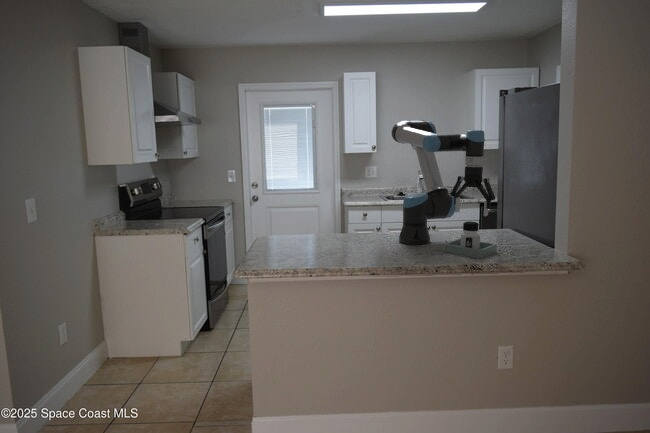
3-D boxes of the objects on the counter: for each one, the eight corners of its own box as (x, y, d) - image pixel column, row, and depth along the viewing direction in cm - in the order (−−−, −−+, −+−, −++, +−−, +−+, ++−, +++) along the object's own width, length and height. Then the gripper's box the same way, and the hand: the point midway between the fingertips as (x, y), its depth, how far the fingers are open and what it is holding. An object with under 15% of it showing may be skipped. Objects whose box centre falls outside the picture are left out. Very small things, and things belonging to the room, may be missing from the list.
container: (479, 252, 220) (480, 223, 218) (461, 252, 222) (462, 223, 219) (477, 248, 228) (479, 220, 225) (460, 247, 229) (461, 220, 227)
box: (443, 251, 225) (444, 244, 225) (459, 245, 236) (460, 238, 235) (481, 258, 213) (481, 250, 213) (496, 251, 224) (496, 244, 223)
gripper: (444, 164, 223) (442, 211, 227) (497, 168, 207) (494, 218, 211) (452, 163, 229) (450, 209, 233) (505, 167, 212) (502, 216, 216)
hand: (471, 213), depth 222 cm, fingers open, 13 cm apart
